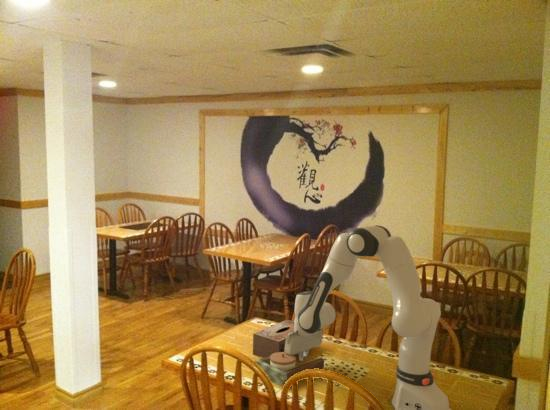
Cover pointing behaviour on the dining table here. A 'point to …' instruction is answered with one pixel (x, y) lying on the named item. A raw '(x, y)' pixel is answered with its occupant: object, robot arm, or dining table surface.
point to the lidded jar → (282, 361)
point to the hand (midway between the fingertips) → (303, 359)
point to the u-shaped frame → (282, 377)
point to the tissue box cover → (272, 339)
